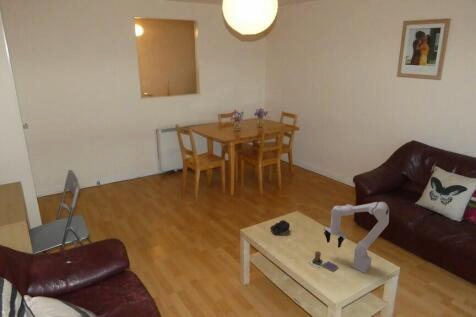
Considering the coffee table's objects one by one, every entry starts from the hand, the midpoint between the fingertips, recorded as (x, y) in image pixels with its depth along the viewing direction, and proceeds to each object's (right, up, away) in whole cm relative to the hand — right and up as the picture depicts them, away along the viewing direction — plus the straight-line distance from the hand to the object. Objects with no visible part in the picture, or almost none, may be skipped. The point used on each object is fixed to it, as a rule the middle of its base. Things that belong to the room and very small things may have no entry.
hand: (333, 244), depth 211 cm
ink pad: (-4, -12, -6) cm, 14 cm away
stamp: (-11, -11, -1) cm, 15 cm away
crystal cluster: (-29, 0, +35) cm, 45 cm away
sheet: (-11, -11, -1) cm, 15 cm away
